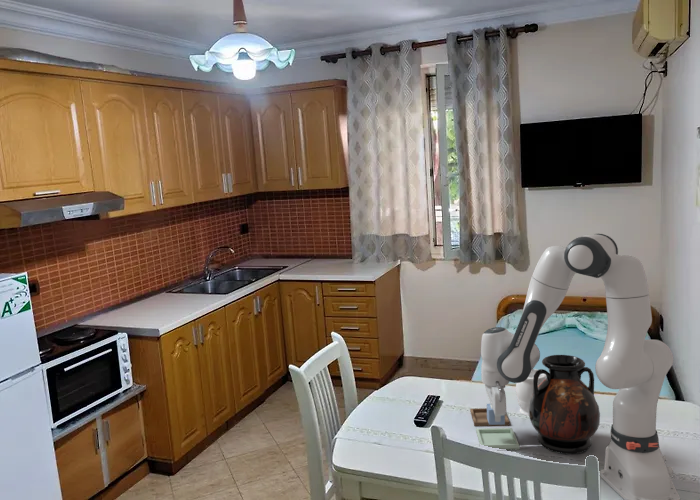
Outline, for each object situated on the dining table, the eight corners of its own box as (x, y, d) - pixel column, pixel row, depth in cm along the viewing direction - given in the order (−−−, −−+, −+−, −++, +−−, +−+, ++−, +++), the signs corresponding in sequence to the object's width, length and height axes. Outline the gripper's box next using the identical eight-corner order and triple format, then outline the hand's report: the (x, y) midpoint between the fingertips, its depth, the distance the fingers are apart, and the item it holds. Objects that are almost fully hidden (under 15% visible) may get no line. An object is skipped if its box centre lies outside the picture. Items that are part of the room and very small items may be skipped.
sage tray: (519, 450, 186) (519, 444, 185) (481, 450, 187) (480, 445, 187) (512, 433, 198) (511, 428, 197) (476, 433, 199) (476, 428, 198)
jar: (543, 406, 217) (542, 368, 215) (549, 418, 207) (549, 378, 205) (514, 407, 218) (513, 368, 216) (519, 418, 208) (518, 378, 206)
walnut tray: (509, 427, 202) (509, 422, 202) (474, 427, 203) (474, 422, 203) (503, 412, 214) (503, 407, 214) (470, 413, 215) (470, 408, 215)
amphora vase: (585, 427, 199) (584, 348, 195) (611, 458, 177) (612, 370, 173) (521, 430, 199) (520, 351, 195) (540, 461, 178) (539, 374, 174)
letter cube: (504, 424, 189) (504, 409, 188) (489, 424, 189) (488, 409, 188) (502, 417, 194) (501, 402, 193) (486, 417, 194) (486, 403, 193)
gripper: (511, 388, 179) (511, 431, 181) (499, 365, 199) (500, 403, 201) (490, 389, 179) (491, 431, 181) (481, 365, 199) (482, 404, 201)
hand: (495, 416), depth 191 cm, fingers closed on letter cube, 5 cm apart
